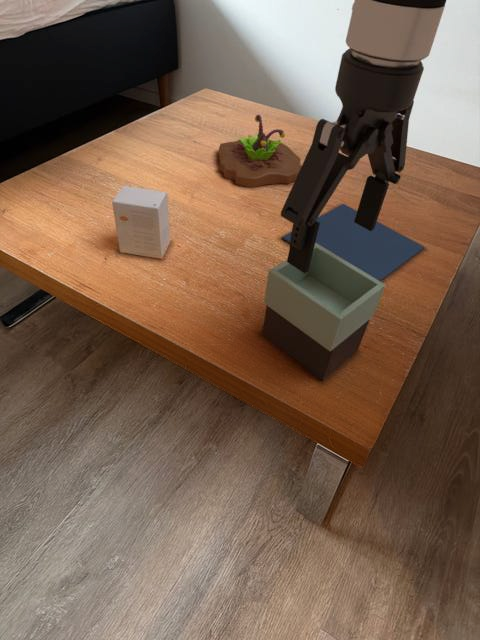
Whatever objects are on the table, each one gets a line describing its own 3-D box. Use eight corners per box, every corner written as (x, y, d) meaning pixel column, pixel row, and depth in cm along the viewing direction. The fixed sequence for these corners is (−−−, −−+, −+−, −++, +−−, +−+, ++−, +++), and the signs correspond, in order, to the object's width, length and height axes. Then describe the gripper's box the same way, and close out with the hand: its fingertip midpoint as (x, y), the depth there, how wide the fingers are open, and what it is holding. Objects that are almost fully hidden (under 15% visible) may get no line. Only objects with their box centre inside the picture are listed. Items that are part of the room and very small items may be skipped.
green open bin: (373, 316, 64) (385, 284, 60) (330, 351, 58) (340, 319, 54) (308, 274, 69) (315, 242, 65) (263, 303, 64) (268, 270, 60)
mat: (423, 248, 89) (424, 246, 89) (366, 292, 78) (367, 289, 78) (342, 205, 98) (343, 203, 98) (281, 239, 88) (282, 236, 87)
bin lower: (357, 351, 68) (370, 319, 63) (322, 381, 64) (333, 349, 59) (297, 309, 74) (305, 276, 69) (261, 334, 69) (267, 300, 64)
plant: (282, 145, 117) (288, 100, 109) (311, 182, 104) (321, 134, 97) (207, 150, 112) (208, 103, 104) (228, 189, 99) (231, 139, 91)
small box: (170, 242, 84) (168, 191, 77) (162, 260, 80) (158, 208, 73) (129, 235, 85) (123, 184, 77) (118, 252, 81) (111, 200, 73)
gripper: (417, 28, 49) (364, 200, 65) (260, 64, 36) (240, 269, 51) (482, 46, 46) (410, 223, 61) (334, 93, 33) (289, 304, 48)
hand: (332, 245), depth 56 cm, fingers open, 13 cm apart
